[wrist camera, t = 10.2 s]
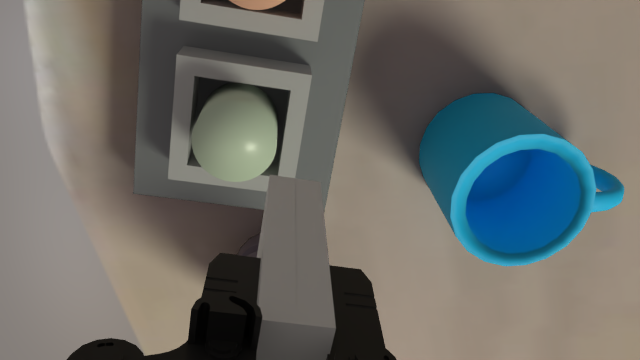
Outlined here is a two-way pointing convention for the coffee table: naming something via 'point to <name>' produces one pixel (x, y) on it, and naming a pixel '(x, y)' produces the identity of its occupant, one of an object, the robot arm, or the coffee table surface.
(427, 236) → the coffee table surface
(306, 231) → the robot arm
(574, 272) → the coffee table surface
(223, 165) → the sage button
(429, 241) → the coffee table surface
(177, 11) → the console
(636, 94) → the coffee table surface
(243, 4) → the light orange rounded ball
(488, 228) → the mug
